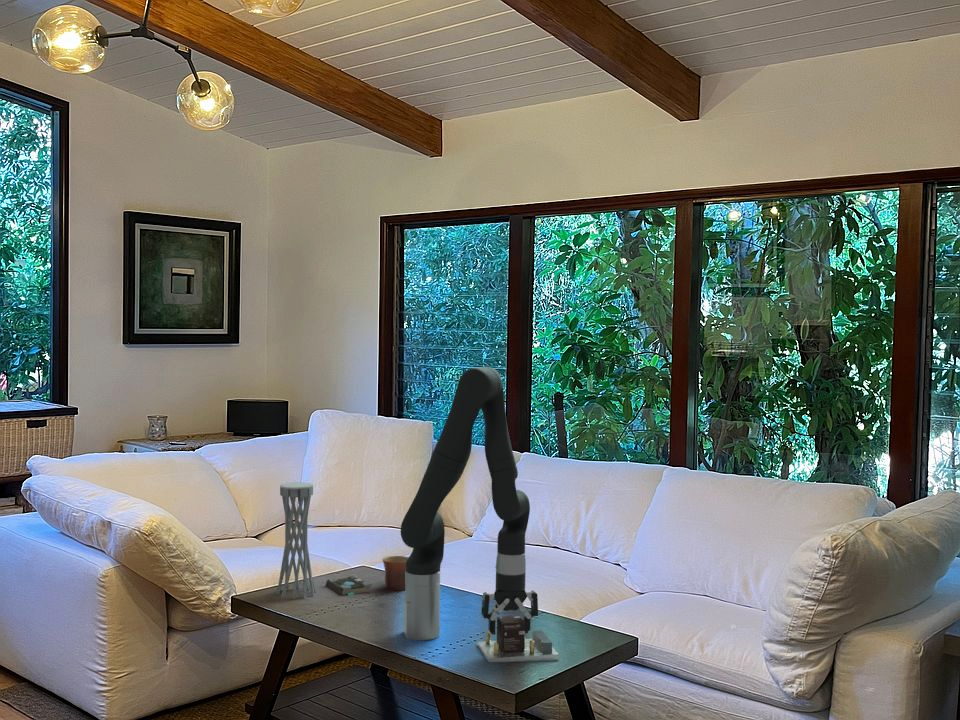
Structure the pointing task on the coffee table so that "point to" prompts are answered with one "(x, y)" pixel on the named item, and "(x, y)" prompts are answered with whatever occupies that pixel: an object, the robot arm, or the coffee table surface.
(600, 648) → the coffee table surface
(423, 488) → the robot arm
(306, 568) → the grey lattice tower
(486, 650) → the chassis
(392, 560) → the mug
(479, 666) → the coffee table surface
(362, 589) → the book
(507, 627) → the box
